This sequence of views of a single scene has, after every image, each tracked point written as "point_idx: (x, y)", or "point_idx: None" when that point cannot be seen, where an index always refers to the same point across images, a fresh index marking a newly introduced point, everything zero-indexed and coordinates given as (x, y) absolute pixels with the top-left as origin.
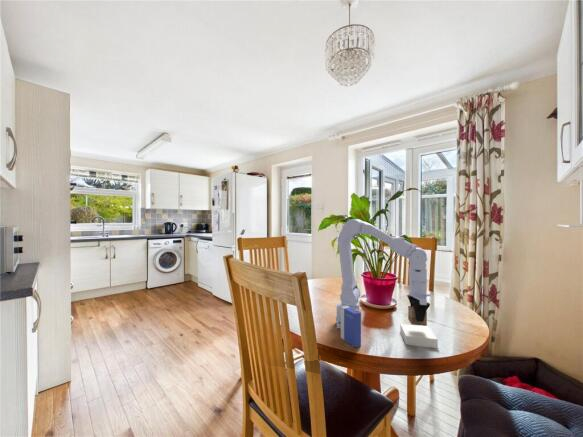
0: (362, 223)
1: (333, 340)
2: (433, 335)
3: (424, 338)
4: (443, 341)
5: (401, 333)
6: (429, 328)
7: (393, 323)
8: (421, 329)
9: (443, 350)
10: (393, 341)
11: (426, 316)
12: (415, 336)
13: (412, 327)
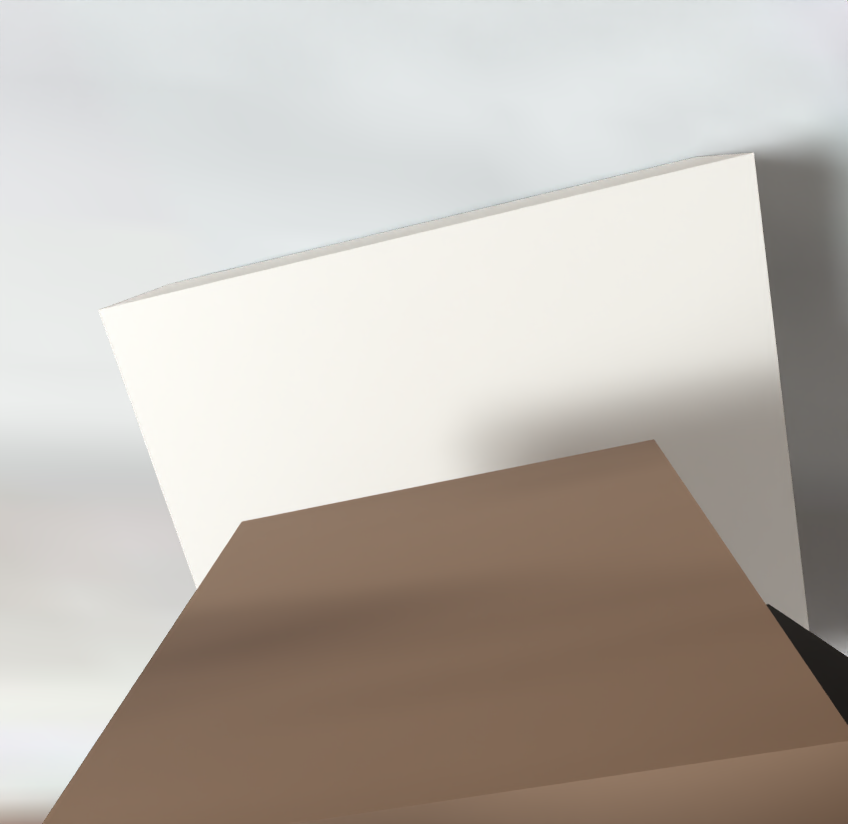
0: None
1: None
2: (565, 231)
3: (778, 420)
4: (339, 20)
5: None
6: (191, 294)
7: (28, 809)
8: (349, 463)
9: (751, 55)
10: None
11: (754, 597)
12: (779, 585)
13: None
